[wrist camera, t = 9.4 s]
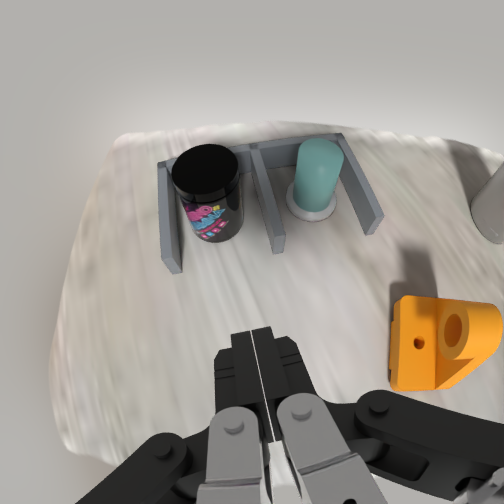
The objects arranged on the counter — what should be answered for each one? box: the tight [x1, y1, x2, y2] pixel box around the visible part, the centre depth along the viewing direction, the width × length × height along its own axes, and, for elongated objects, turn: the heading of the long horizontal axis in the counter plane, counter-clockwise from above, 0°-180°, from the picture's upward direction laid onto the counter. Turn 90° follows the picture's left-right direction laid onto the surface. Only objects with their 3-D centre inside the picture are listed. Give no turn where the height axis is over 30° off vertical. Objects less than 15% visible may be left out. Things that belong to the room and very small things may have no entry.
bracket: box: [389, 295, 503, 391], centre depth 24 cm, size 11×7×12 cm, turn 172°
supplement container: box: [171, 144, 243, 243], centre depth 33 cm, size 7×7×10 cm
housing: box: [158, 133, 384, 274], centre depth 34 cm, size 14×26×9 cm, turn 102°
